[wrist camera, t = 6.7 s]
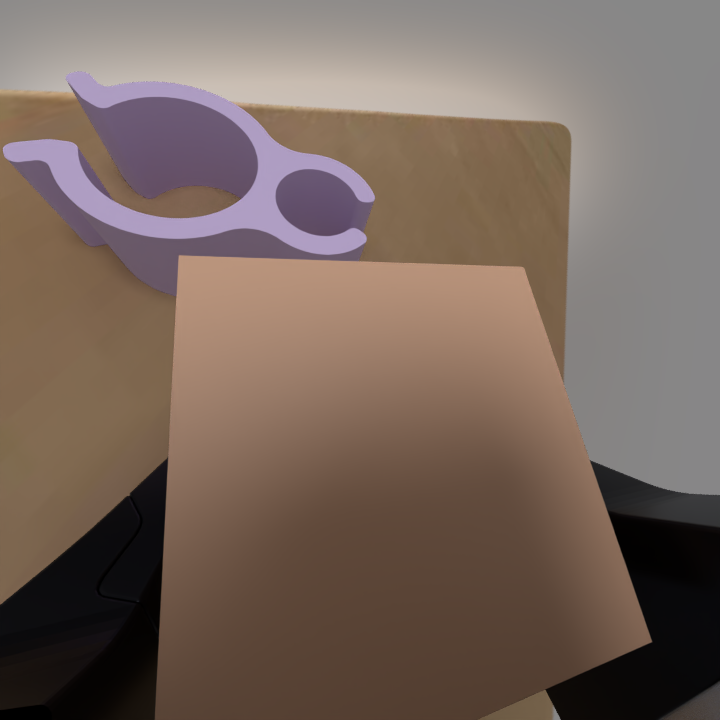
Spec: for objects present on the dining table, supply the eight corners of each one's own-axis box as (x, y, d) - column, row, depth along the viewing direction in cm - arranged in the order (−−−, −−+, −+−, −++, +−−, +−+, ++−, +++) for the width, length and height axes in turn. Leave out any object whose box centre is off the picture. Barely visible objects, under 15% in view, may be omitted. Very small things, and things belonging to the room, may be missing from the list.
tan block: (370, 501, 14) (652, 641, 3) (264, 521, 13) (147, 867, 2) (357, 400, 16) (523, 266, 5) (260, 410, 15) (177, 254, 3)
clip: (361, 223, 29) (383, 156, 22) (336, 337, 24) (355, 295, 18) (139, 151, 25) (90, 48, 19) (65, 269, 21) (-32, 186, 15)
